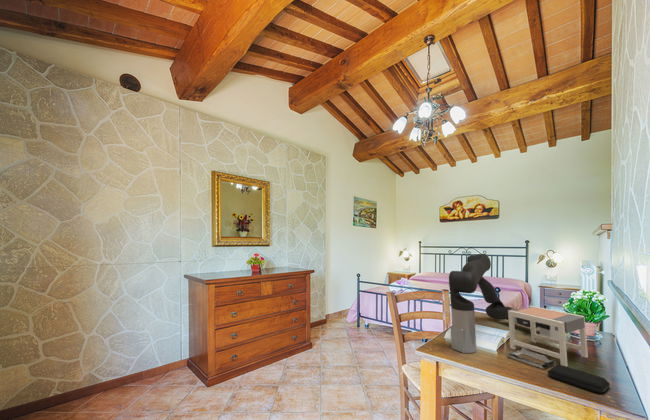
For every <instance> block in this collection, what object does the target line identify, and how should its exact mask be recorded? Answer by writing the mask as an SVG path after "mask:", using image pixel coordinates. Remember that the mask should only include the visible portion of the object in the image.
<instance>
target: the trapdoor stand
mask: <svg viewBox="0 0 650 420" xmlns="http://www.w3.org/2000/svg"><path fill="white" fill-rule="evenodd" d="M532 307H535V308H540V309H545V310H550V311H555V312H560V313H565V314H571V315H575V316H580V317H584V325H585V328H582V329H579V331H578V332H579V340H580V345H579V344H575V343H572V342H568V341H566V340H567V339H566V333H565V326H564V322H561V321H556V320H552V319H547V318H543V317H538V316H534V315H529V314H525V313H520V312H516V311H511V310H509V311H508V318H509V320H508V330H509V331H508V332H509V333H508V334H509V348H510V349H512V350H516V349H517V347H516V346H518V347H521V348H525V349H527V350H529V351H532V352H536V353H537V352H538V353H540V354H542V355H545V356H550V357H553V358H554V359H555V358H556V359H559V360H560V365H563V366H566V367H569V366H568V353H567V348H569V349H570V348H571V349H574V350H577V351H580V352H581V353H580V355H581V358H586V359H587V358H589V355H588V341H587V331H586V330H587V327H586V317H585V316H584V315H580V314H575V313H569V312H565V311H560V310H555V309H550V308H543V307H539V306H535V305H528V308H532ZM514 317H517V318H522V319H526V320H530V327H529V328H530V341H531V342H532V343H534V344H536V343H537V342H538V341H537V339H538V340H542V341H545V342H549V343H553V344H556V345H558V347H559V352H555V351H552V350H550V349H547V348H543V347H540V346H537V345H533V344H530V343H527V342H523V341H520V340H517V339H516V330H515V328H516V326H515V323H514ZM535 322H538V323H542V324H547V325H551V326H555V327H558V334H559V340H558V339H554V338H550V337H547V336H543V335H540V333H537V328H536V323H535Z"/></svg>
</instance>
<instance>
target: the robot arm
mask: <svg viewBox="0 0 650 420" xmlns="http://www.w3.org/2000/svg"><path fill="white" fill-rule="evenodd" d="M491 266H492V264H491V259H490V257H489V256H488V255H487V254H486V253H478V254H472V255H468V256H467V258H466V263H465V264H464V265H463V266H462V269H461V271H460V270H451V271H450V273H449V275H448V287H449V296H450V309H451V310H450V311H451V314H450V315H451V316H450V317H451V326H450V346H451V350H455V351H458V352H460V353H462V354H473V353H476V352H477V338H476V337H477V336H476V332H477V331H476V317H475V314H476V313H475V304H474V302H473V301H471V300H469V299H467V298H465V297H463V295H461V294H462V293H463V294H473V293H476V290H477V288H479V289H480V291H481V293H482V296H483V299H484V301H485V302H486V303H487V304H489V305H488V306H486V307H485V313H486V315H487V316H488V317H490V318H491V319H493V320H494V319H495V320H507V321H509V318H508V311H509V310H511V311H518V310H521V309H520V308H514V307H510V306H505V304H504V303H503V302H502V301H501V299H500V298H499V296H498V293H497V291H496V289H495V287H494V285H493V284H492V283H491V282H489V280H487V279H486V278H484V274H485V273H486V272H488V271H489V270H491ZM535 323H536V329H540V328H544V329H547V330H550V325H547V324H542V323H538V322H535ZM514 324H518V325H520V326H523V327H527V328H530V320H526V319H522V318H517V317H514Z"/></svg>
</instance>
